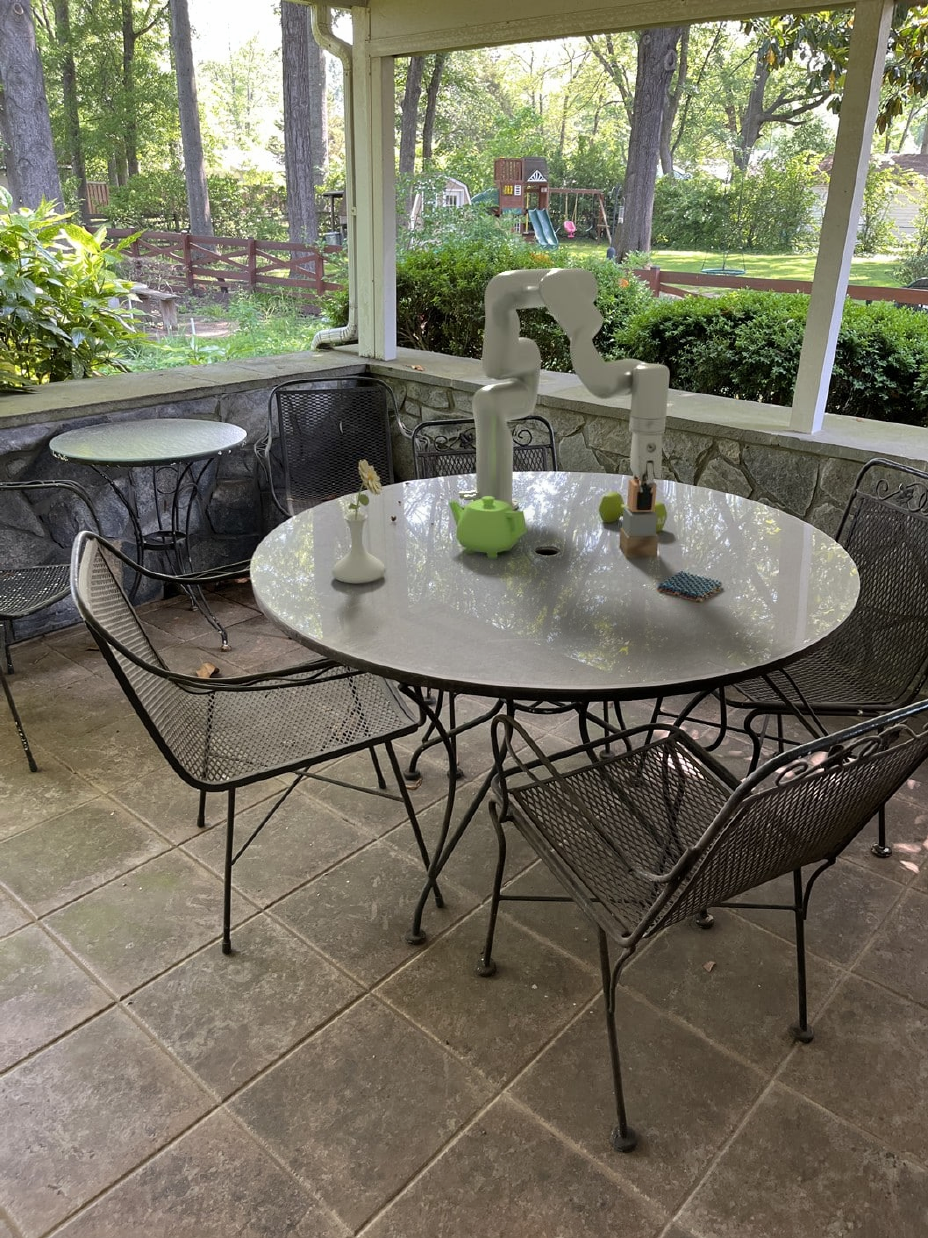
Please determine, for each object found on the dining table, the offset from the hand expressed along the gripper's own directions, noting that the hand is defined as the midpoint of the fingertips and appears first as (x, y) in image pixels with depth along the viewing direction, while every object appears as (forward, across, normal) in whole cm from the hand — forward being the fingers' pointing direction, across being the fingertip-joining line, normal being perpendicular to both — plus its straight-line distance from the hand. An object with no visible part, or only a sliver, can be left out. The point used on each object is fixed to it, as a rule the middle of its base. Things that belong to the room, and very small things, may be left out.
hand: (640, 505), depth 193 cm
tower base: (+11, 0, 0) cm, 11 cm away
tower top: (+6, 0, 0) cm, 6 cm away
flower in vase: (+11, -11, +62) cm, 64 cm away
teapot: (+12, +4, +34) cm, 36 cm away
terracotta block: (+1, 0, 0) cm, 1 cm away
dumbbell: (+12, +19, -3) cm, 22 cm away
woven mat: (+12, -22, -6) cm, 26 cm away
